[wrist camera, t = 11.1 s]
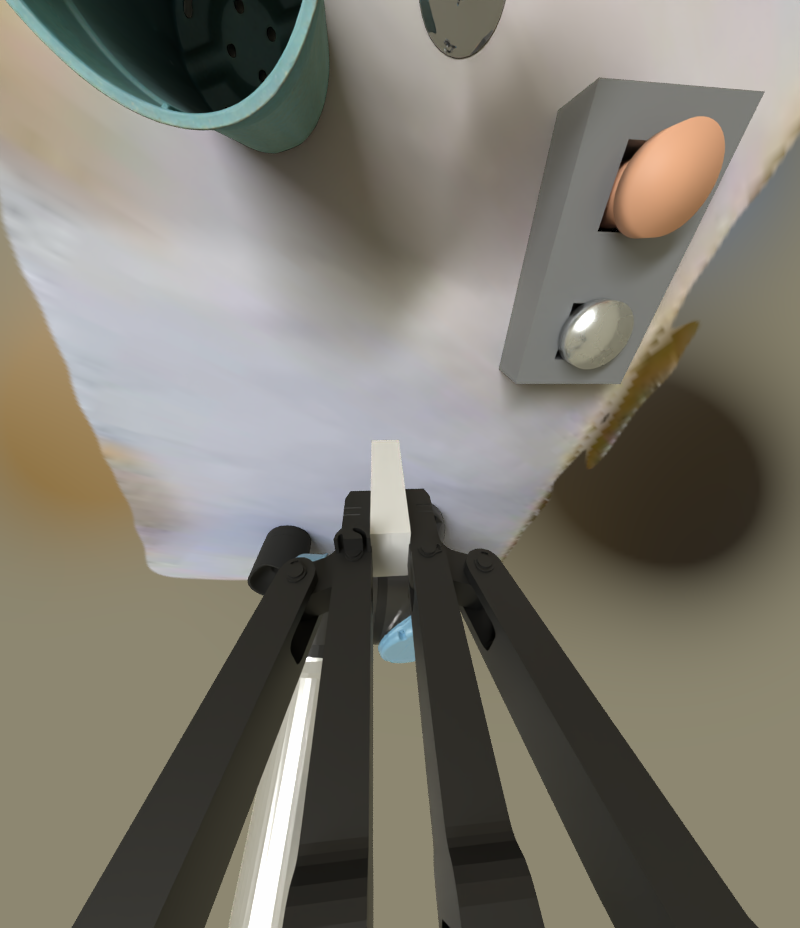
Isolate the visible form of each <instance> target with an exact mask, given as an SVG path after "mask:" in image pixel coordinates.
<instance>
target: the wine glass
mask: <svg viewBox="0 0 800 928" xmlns="http://www.w3.org/2000/svg"><path fill="white" fill-rule="evenodd" d="M419 3H420V8H421V14H422V18H423V21H424V24H425V27H426V30H427V32H428V34H429V36H430V38H431V39H432V41H433V43H434V44H435V45H436V47H437V48H438V49H439V50H440V51H441V52H443V53H444V54H446V55H447V56H450V57H453V58H465V57H469V56H471V55H472V54H474V53H476V52H477V51H478V50H480V49H481V48H482V47H483V46H484V45H485V43H486V42H487V41H488V40H489V38H490V37H491V35H492V33H493V32H494V30H495V28H496V26H497V24H498V21H499V19H500V16H501V13H502V10H503V7H504V3H505V0H419Z"/></svg>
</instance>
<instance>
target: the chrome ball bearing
mask: <svg viewBox="0 0 800 928" xmlns="http://www.w3.org/2000/svg"><path fill="white" fill-rule="evenodd" d="M633 325H634V317H633V313H632V311H631V309H630V307H629V306H628V305H627V304H625V303H623V302H620V301H616V300H610V299H604V298H599V299H594V300H591V301H588V302H586V303H584V304H582V305H581V304H577V303H573V306H572V309H571V312H570V315H569V317H568V318H567V320H566V321H565V323H564V324H563V326H562V328H561V331H560V333H559V337H558V350H559V353H560V355H561V357H562V358H563V359H564V360H565V361H566V362H568V363H570V364H572V365H574V366H575V367H578V368H580V369H594V368H597V367H600V366H602V365H604V364H606V363H608V362H609V361H611V360H612V359H613V358H615V357H616V356H617V355H618V354H619V353H620V352H621V350H622V349H623V348H624V347H625V345H626V344H627V342H628V340H629V338H630V336H631V333H632V330H633Z"/></svg>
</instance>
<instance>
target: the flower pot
mask: <svg viewBox="0 0 800 928" xmlns="http://www.w3.org/2000/svg"><path fill="white" fill-rule="evenodd" d="M6 2H7V3H8V4H9V5H10V6H11V8H12V9H13V10H14V11H15V12H16V14H17V15H18V16H19V17H20V18H21V19H22V20H23V21H24V22H25V23H26V25H27V26H28V27H29V28H30V29H31V30H32V31H33V32H34V33H35V34H36V35H37V36H38V37H39V38H40V39H41V40H42V41H43V42H44V43H45V44H46V45H47V46H48V47H49V48H50V49H51V50H52V51H53V52H54V53H55V54H56V55H57V56H58V57H59V58H60V59H61V60H62V61H63V62H65V63H66V64H67V65H68V66H69V67H70V68H71V69H72V70H74V71H75V72H76V73H77V74H78V75H79V76H80V77H82V78H83V79H84V80H86V81H87V82H88V83H89V84H91V85H92V86H93V87H95V88H96V89H98V90H99V91H100V92H102V93H103V94H105V95H106V96H108V97H109V98H111V99H112V100H114V101H116V102H117V103H119V104H121V105H122V106H124V107H126V108H128V109H130V110H132V111H134V112H136V113H138V114H140V115H142V116H144V117H147V118H149V119H152V120H154V121H156V122H159V123H163V124H166V125H170V126H174V127H178V128H184V129H191V130H215V131H217V132H219V133H221V134H223V135H225V136H228V137H230V138H232V139H234V140H236V141H238V142H240V143H242V144H244V145H246V146H248V147H250V148H252V149H255V150H257V151H261V152H265V153H279V152H282V151H285V150H288V149H291V148H293V147H295V146H297V145H300V144H301V143H302V142H303V141H304V140H305V139H306V138H307V137H308V136H309V135H310V134H311V132H312V131H313V129H314V128H315V126H316V124H317V122H318V120H319V117H320V115H321V112H322V109H323V106H324V102H325V98H326V93H327V88H328V78H329V48H328V37H327V26H326V16H325V6H324V0H242V2H243V4H244V12H243V13H242V14H239V13H238V12H237V11H236V9H235V6H234V0H192V9H193V12H192V17H191V18H187V17H186V16H185V14H184V10H183V0H6ZM268 27H272V28H273V29H274V31H275V33H276V40H275V41H274V42H272V41H270V40H269V39H268V37H267V29H268ZM228 44H233V45H234V46H235V49H236V57H235V58H233V57H231V56H230V55H229V54H228V51H227V46H228ZM260 70H264V71H265V72H266V74H267V78H266V79H265V81H264V82H263V83H262V82H261V81H260V79H259V71H260ZM225 106H227V107H229V108H227V109H224V108H225Z"/></svg>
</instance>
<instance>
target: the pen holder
mask: <svg viewBox="0 0 800 928" xmlns="http://www.w3.org/2000/svg"><path fill="white" fill-rule="evenodd" d="M310 545H311V539H310V537H309V535H308V534H307V533H306V532H305V531H304V530H302V529H300V528H298V527H294V526H279V527H276V528H274V529H273V530H271V531H270V532H269V533H268V535H267V537H266V539H265V541H264V543H263V545H262V548H261V550H260V552H259V555H258V557H257V559H256V561H255V564H254V566H253V568H252V570H251V573H250V575H249V577H248V585H249V586H250V588H251V589H252V590H254V591H255V592H257V593H259V594H261V595H265V593H266V591H267V589H268V588H269V586H270V584H271V582H272V581H273V579H274V577H275V576H276V574H277V572H278V570H279V569H280V568H281V567H282V565H283V564H284V563H286V562H287V561H289V560H290V559H294V558H296V557H297V556H299V555H301V554H309V552H310Z"/></svg>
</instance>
